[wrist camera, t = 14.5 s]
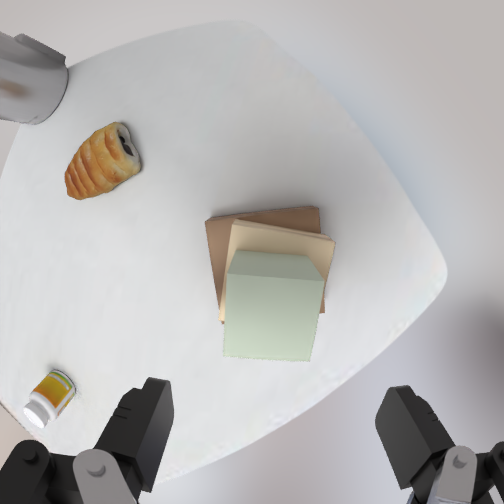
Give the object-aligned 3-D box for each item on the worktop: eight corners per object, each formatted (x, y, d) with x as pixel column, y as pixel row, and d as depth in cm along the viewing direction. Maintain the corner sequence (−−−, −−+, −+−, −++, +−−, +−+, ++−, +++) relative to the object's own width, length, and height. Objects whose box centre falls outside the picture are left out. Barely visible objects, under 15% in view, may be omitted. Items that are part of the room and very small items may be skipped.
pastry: (85, 214, 28) (66, 218, 24) (65, 165, 26) (45, 164, 23) (148, 169, 26) (133, 166, 23) (124, 117, 25) (107, 109, 21)
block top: (235, 219, 24) (232, 224, 21) (325, 234, 24) (335, 242, 21) (223, 303, 26) (218, 320, 23) (306, 315, 26) (312, 333, 23)
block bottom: (211, 217, 28) (204, 221, 24) (311, 205, 27) (318, 208, 24) (225, 309, 30) (222, 324, 27) (317, 298, 30) (324, 312, 26)
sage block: (235, 249, 21) (226, 273, 16) (307, 255, 21) (324, 281, 16) (231, 315, 23) (223, 356, 17) (298, 320, 23) (309, 361, 17)
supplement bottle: (47, 365, 33) (14, 398, 23) (71, 374, 33) (39, 412, 23) (55, 390, 34) (27, 423, 25) (79, 399, 34) (52, 436, 25)
